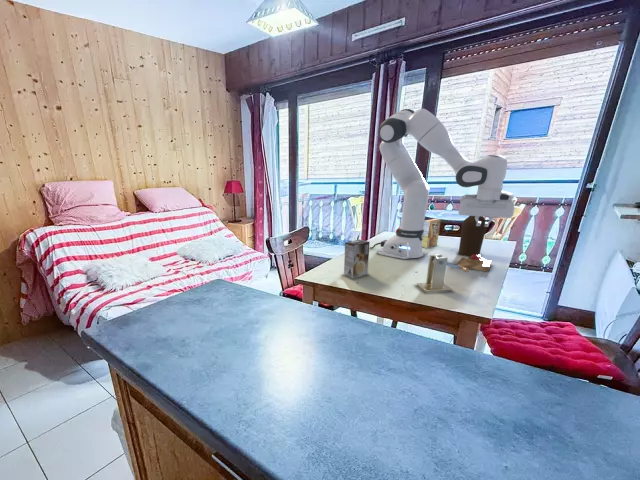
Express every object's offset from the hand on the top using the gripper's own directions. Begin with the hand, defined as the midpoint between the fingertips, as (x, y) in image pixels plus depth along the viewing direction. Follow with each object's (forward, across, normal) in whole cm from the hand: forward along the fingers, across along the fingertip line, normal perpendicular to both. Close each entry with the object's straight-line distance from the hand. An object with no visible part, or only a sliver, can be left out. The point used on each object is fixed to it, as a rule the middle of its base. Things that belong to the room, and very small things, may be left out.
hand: (482, 226), depth 147 cm
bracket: (+19, -9, -38) cm, 43 cm away
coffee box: (+19, -42, -39) cm, 60 cm away
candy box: (+19, -26, +27) cm, 42 cm away
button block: (+19, 0, 0) cm, 19 cm away
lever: (+10, -5, -35) cm, 37 cm away
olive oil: (+19, -5, +20) cm, 28 cm away
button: (+15, 0, 0) cm, 15 cm away
